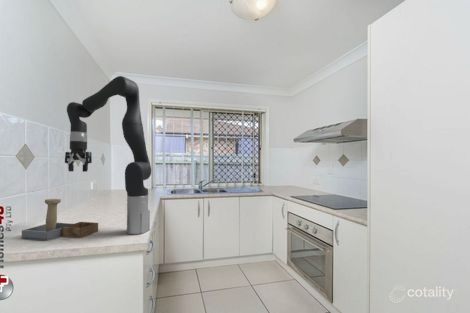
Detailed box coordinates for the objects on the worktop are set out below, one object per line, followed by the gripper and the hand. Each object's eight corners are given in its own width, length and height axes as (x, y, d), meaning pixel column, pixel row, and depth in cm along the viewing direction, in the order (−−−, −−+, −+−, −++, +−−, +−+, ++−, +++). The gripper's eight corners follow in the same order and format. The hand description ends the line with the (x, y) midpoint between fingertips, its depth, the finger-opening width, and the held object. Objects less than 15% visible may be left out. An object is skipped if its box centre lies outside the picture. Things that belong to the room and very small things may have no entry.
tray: (75, 231, 104) (76, 223, 104) (47, 240, 91) (47, 232, 91) (52, 229, 107) (52, 222, 107) (21, 238, 94) (21, 230, 94)
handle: (51, 230, 102) (53, 198, 103) (61, 232, 100) (63, 199, 101) (39, 233, 98) (42, 199, 98) (49, 235, 96) (52, 200, 97)
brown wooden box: (98, 231, 104) (98, 222, 104) (80, 237, 95) (80, 228, 95) (80, 229, 106) (80, 221, 106) (61, 236, 97) (62, 227, 97)
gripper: (60, 140, 112) (59, 171, 112) (84, 140, 110) (83, 171, 109) (73, 141, 119) (73, 171, 119) (96, 141, 117) (95, 171, 116)
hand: (78, 171), depth 114 cm, fingers open, 8 cm apart
